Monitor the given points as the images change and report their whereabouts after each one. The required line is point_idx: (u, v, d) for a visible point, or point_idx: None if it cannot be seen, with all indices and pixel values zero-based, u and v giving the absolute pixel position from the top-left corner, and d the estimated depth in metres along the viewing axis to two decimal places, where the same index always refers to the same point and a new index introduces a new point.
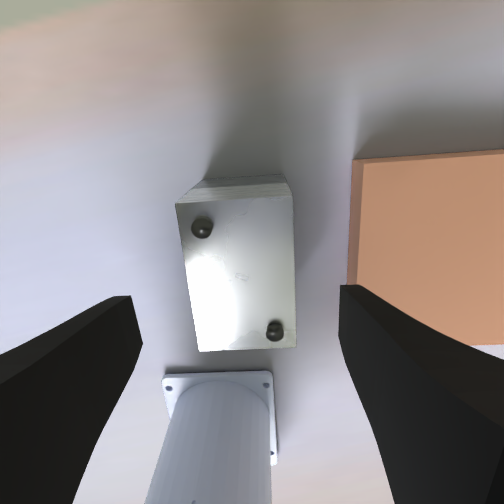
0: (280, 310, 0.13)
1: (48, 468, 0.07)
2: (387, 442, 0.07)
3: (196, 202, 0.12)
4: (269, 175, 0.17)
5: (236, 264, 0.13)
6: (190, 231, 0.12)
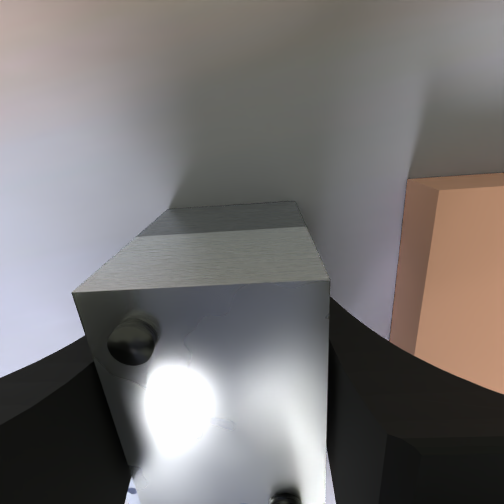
0: (296, 476, 0.07)
1: (105, 467, 0.07)
2: (330, 443, 0.07)
3: (118, 290, 0.05)
4: (273, 204, 0.10)
5: (210, 402, 0.06)
6: None
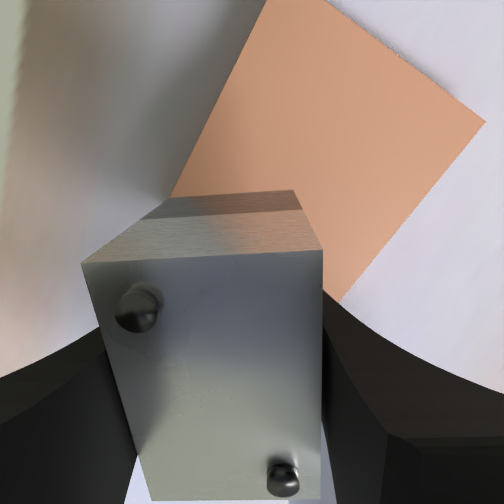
0: (293, 446, 0.07)
1: (105, 467, 0.07)
2: (331, 443, 0.07)
3: (124, 261, 0.06)
4: (272, 192, 0.11)
5: (211, 372, 0.07)
6: None
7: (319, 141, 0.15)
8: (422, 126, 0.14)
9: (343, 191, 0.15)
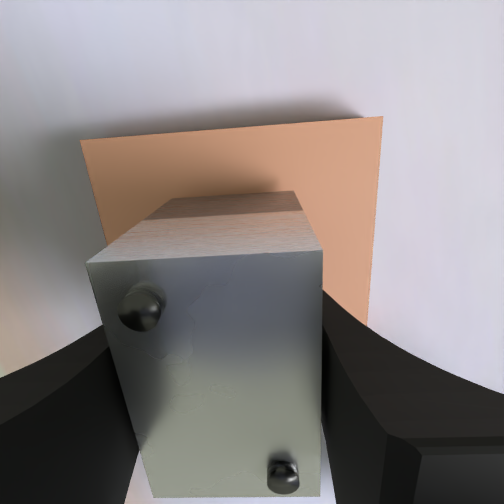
0: (293, 443, 0.07)
1: (105, 467, 0.07)
2: (331, 443, 0.07)
3: (128, 261, 0.06)
4: (273, 193, 0.11)
5: (213, 370, 0.07)
6: None
7: None
8: (316, 168, 0.12)
9: None
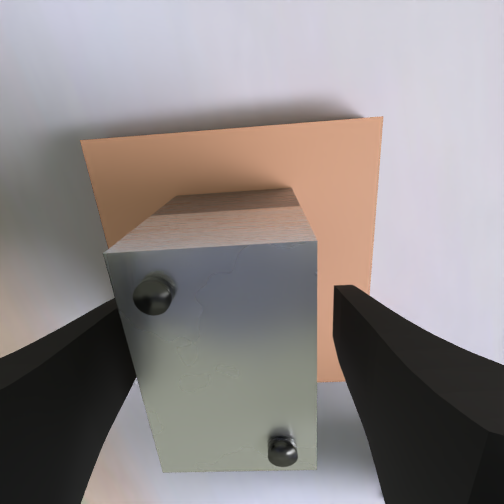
0: (292, 420, 0.08)
1: (57, 468, 0.07)
2: (378, 442, 0.07)
3: (142, 251, 0.07)
4: (272, 190, 0.12)
5: (218, 352, 0.07)
6: None
7: None
8: (316, 168, 0.12)
9: None
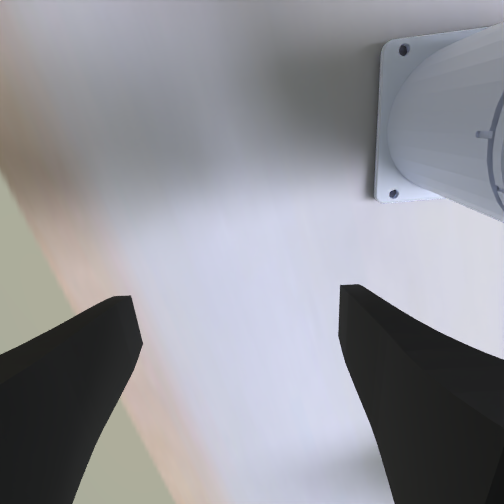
0: None
1: (48, 468, 0.07)
2: (387, 442, 0.07)
3: None
4: None
5: None
6: None
7: None
8: None
9: None
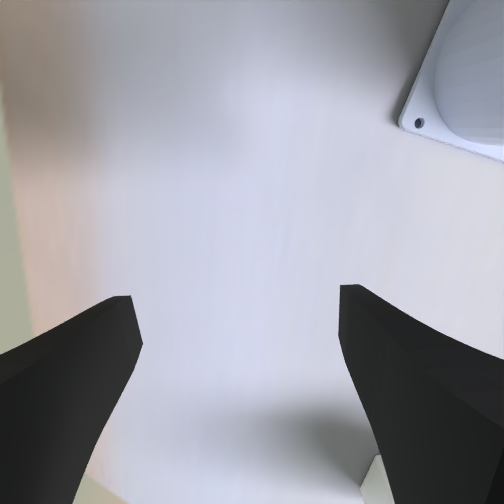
0: None
1: (48, 468, 0.07)
2: (387, 442, 0.07)
3: None
4: None
5: None
6: None
7: None
8: None
9: None
